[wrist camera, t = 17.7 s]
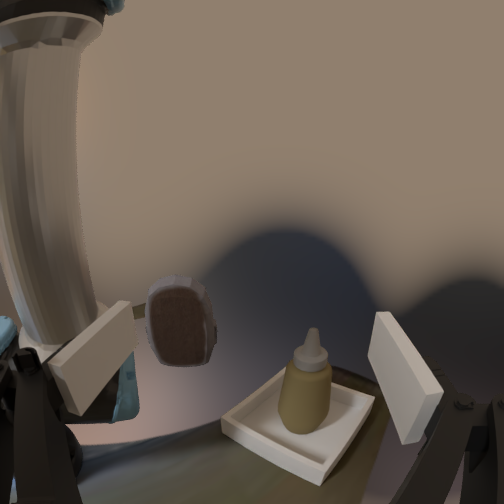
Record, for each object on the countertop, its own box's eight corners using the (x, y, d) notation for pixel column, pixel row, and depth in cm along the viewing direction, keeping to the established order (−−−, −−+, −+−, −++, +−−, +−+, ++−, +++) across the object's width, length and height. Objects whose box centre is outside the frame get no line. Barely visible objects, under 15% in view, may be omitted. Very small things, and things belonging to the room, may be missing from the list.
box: (222, 432, 40) (220, 416, 39) (286, 380, 53) (287, 365, 52) (319, 486, 29) (325, 472, 28) (369, 412, 42) (375, 397, 41)
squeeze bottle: (281, 403, 45) (287, 313, 41) (327, 408, 43) (343, 318, 39) (271, 436, 38) (277, 342, 33) (323, 442, 36) (345, 348, 31)
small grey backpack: (149, 369, 55) (133, 281, 50) (155, 348, 63) (144, 267, 58) (219, 369, 57) (214, 279, 52) (219, 348, 65) (215, 266, 60)
